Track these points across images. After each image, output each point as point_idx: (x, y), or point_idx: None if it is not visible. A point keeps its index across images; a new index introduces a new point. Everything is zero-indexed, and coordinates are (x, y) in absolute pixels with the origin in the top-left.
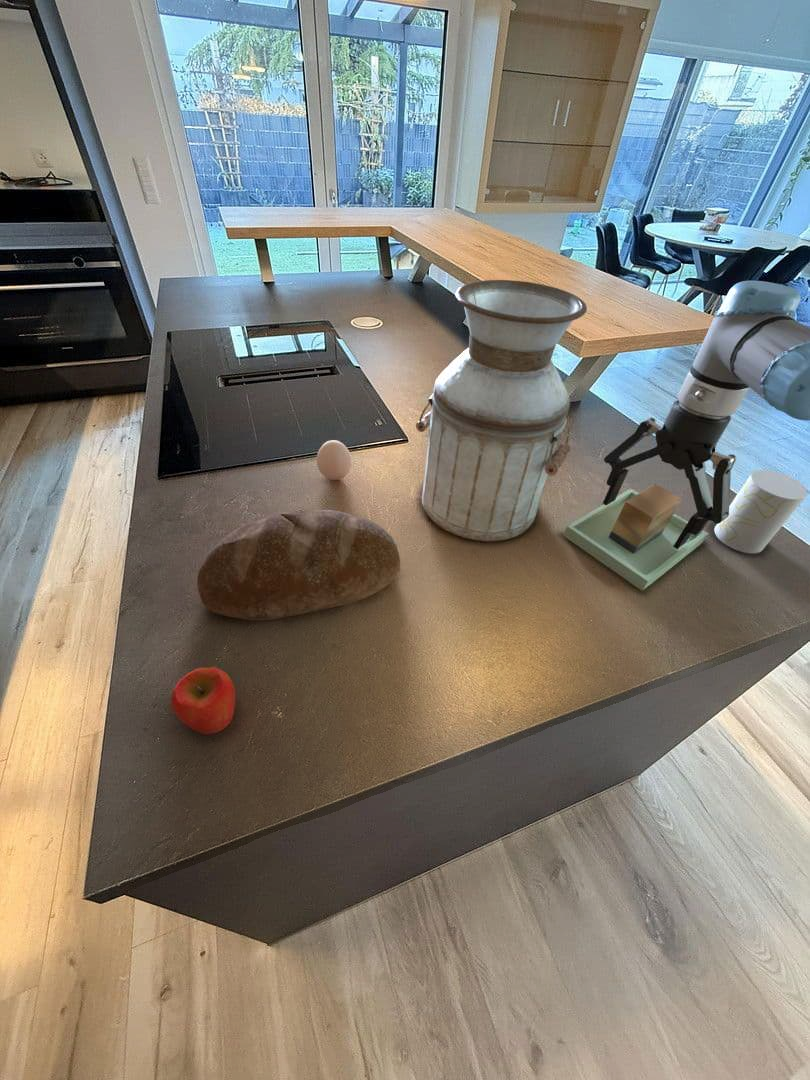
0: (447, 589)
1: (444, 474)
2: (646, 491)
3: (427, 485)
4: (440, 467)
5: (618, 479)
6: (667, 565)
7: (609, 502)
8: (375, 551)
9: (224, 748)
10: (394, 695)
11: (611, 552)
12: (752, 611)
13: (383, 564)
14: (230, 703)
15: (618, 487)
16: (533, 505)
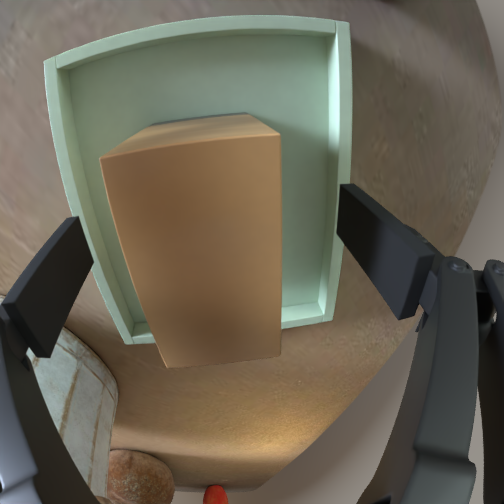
0: (177, 440)
1: None
2: (137, 261)
3: None
4: None
5: (54, 336)
6: (341, 254)
7: (87, 253)
8: (155, 495)
9: (229, 485)
10: (249, 464)
11: None
12: (466, 170)
13: (161, 486)
14: (223, 500)
15: (58, 269)
16: (89, 408)
